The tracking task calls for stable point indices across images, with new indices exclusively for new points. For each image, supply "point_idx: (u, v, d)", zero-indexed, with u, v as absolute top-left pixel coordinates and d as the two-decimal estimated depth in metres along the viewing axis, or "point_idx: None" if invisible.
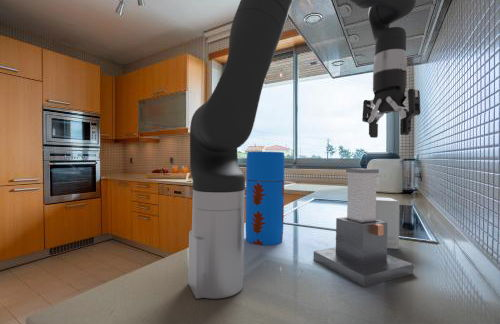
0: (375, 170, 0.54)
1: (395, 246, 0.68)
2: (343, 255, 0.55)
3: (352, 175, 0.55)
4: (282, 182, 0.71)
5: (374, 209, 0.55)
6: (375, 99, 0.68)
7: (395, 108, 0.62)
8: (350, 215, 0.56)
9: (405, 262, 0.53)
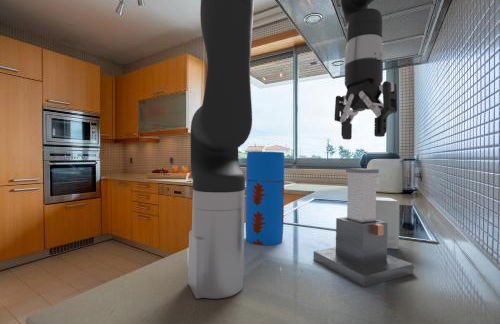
0: (375, 170, 0.54)
1: (395, 246, 0.68)
2: (343, 255, 0.55)
3: (352, 175, 0.55)
4: (282, 182, 0.71)
5: (374, 209, 0.55)
6: (348, 94, 0.58)
7: (368, 105, 0.52)
8: (350, 215, 0.56)
9: (405, 262, 0.53)
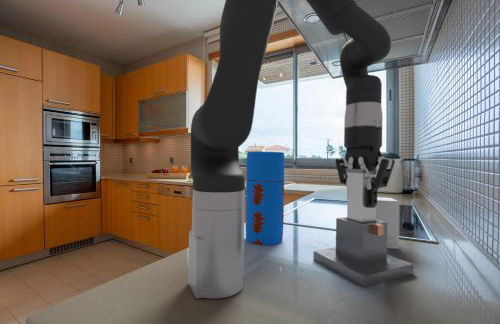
0: None
1: (395, 246, 0.68)
2: (343, 255, 0.55)
3: (352, 175, 0.55)
4: (282, 182, 0.71)
5: (374, 209, 0.55)
6: (347, 155, 0.58)
7: None
8: (350, 215, 0.56)
9: (405, 262, 0.53)
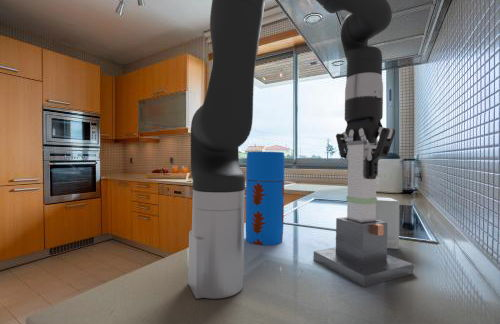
0: (375, 142, 0.54)
1: (395, 246, 0.68)
2: (343, 255, 0.55)
3: (352, 148, 0.55)
4: (282, 182, 0.71)
5: (374, 181, 0.55)
6: (347, 129, 0.58)
7: None
8: (350, 187, 0.56)
9: (405, 262, 0.53)
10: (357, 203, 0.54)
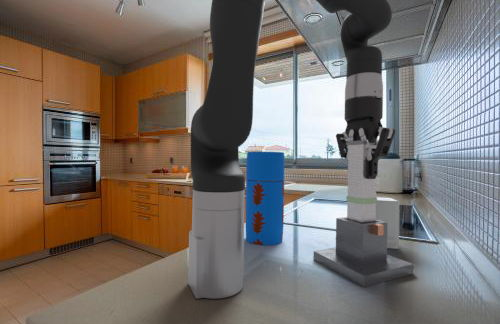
0: None
1: (395, 246, 0.68)
2: (343, 255, 0.55)
3: (352, 147, 0.55)
4: (282, 182, 0.71)
5: (374, 181, 0.55)
6: (347, 129, 0.58)
7: None
8: (350, 187, 0.56)
9: (405, 262, 0.53)
10: (357, 203, 0.54)
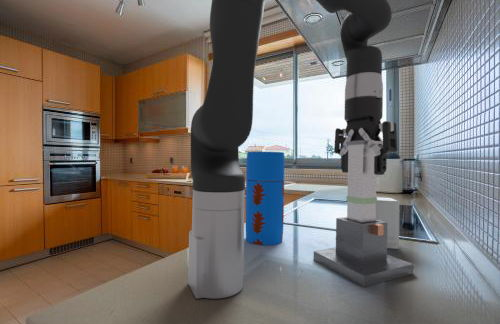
0: None
1: (395, 246, 0.68)
2: (343, 255, 0.55)
3: (352, 147, 0.55)
4: (282, 182, 0.71)
5: (374, 181, 0.55)
6: (347, 129, 0.58)
7: (368, 143, 0.52)
8: (350, 187, 0.56)
9: (405, 262, 0.53)
10: (357, 203, 0.54)
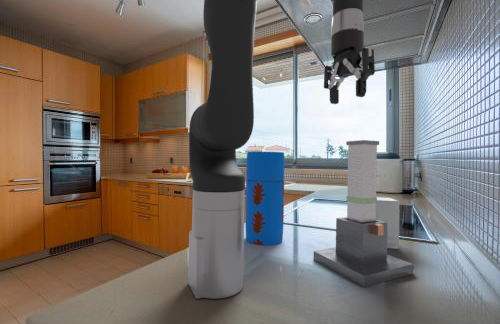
0: (375, 142, 0.54)
1: (395, 246, 0.68)
2: (343, 255, 0.55)
3: (352, 147, 0.55)
4: (282, 182, 0.71)
5: (374, 181, 0.55)
6: (334, 63, 0.66)
7: (350, 69, 0.60)
8: (350, 187, 0.56)
9: (405, 262, 0.53)
10: (357, 203, 0.54)
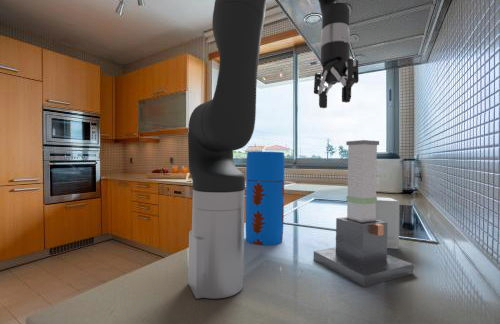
0: (375, 142, 0.54)
1: (395, 246, 0.68)
2: (343, 255, 0.55)
3: (352, 147, 0.55)
4: (282, 182, 0.71)
5: (374, 181, 0.55)
6: (323, 71, 0.73)
7: (337, 77, 0.67)
8: (350, 187, 0.56)
9: (405, 262, 0.53)
10: (357, 203, 0.54)
